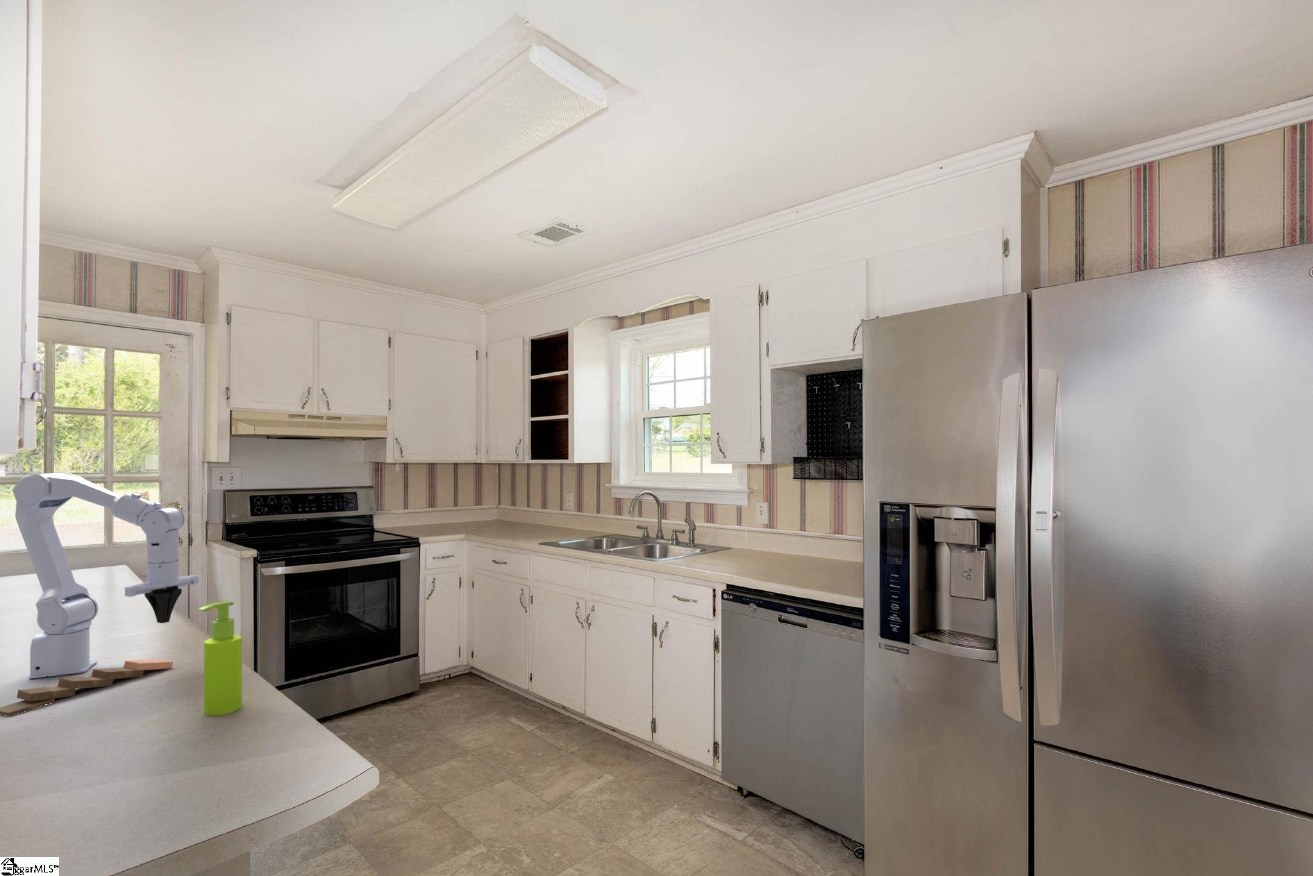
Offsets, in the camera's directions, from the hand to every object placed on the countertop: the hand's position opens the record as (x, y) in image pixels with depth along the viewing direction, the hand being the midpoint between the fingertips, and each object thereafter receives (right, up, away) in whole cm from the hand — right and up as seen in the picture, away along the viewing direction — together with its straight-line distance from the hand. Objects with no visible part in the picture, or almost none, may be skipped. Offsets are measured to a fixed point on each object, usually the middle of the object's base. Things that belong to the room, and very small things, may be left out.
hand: (163, 622), depth 148 cm
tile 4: (-7, -9, -16) cm, 20 cm away
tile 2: (-2, -9, -5) cm, 11 cm away
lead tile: (0, -9, 0) cm, 9 cm away
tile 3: (-4, -9, -11) cm, 15 cm away
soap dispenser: (+30, -10, -26) cm, 40 cm away
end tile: (-8, -10, -20) cm, 24 cm away
